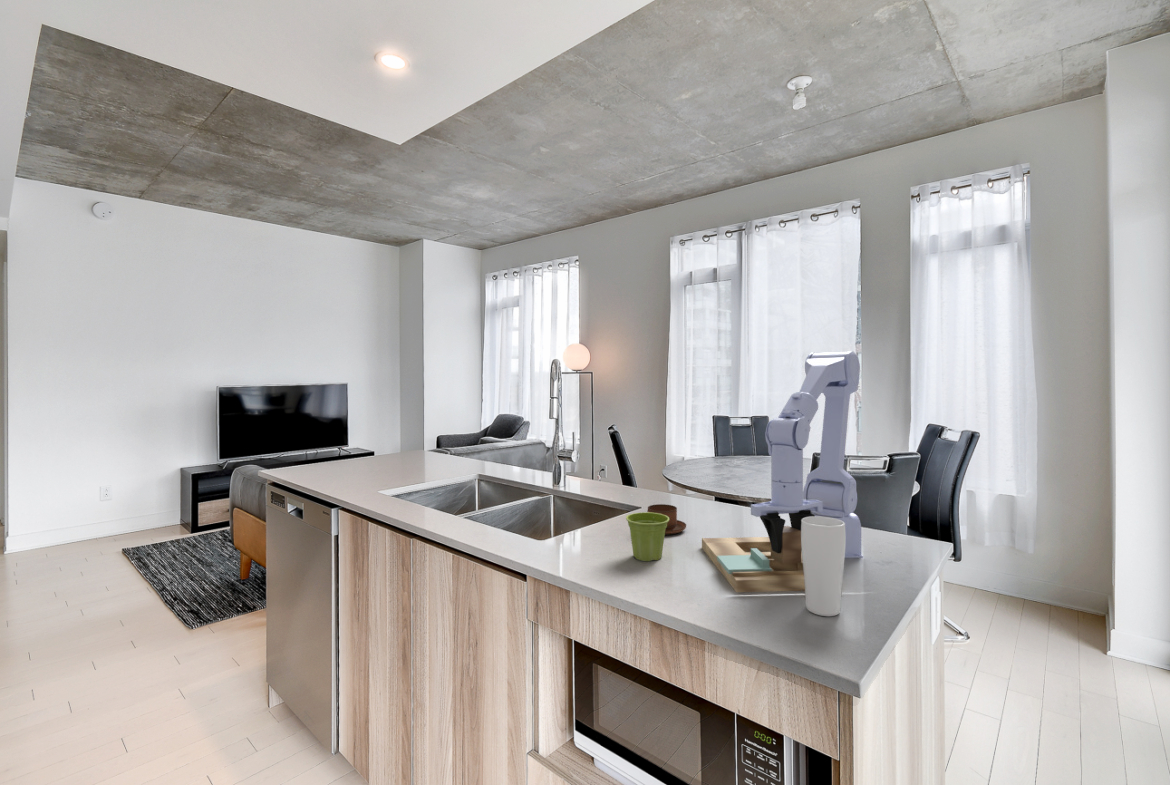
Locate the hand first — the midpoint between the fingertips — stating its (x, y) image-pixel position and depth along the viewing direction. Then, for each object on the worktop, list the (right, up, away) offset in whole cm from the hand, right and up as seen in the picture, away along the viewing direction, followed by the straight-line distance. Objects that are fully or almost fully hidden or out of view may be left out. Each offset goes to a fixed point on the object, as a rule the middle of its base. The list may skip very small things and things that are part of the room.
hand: (787, 550), depth 106 cm
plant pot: (-25, -6, +13) cm, 29 cm away
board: (-2, -5, +6) cm, 8 cm away
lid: (-8, -3, 0) cm, 9 cm away
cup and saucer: (-19, -5, +34) cm, 39 cm away
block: (0, -2, 0) cm, 2 cm away
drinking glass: (0, -6, -15) cm, 16 cm away
